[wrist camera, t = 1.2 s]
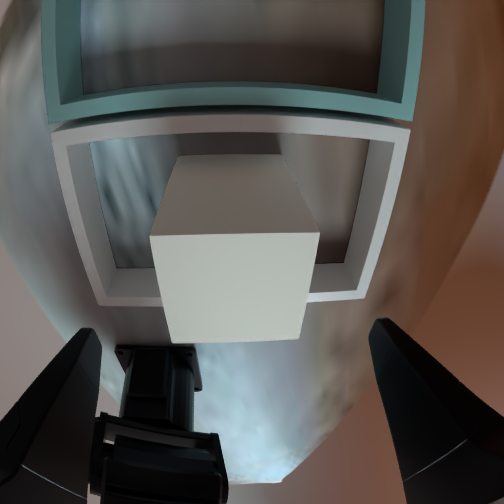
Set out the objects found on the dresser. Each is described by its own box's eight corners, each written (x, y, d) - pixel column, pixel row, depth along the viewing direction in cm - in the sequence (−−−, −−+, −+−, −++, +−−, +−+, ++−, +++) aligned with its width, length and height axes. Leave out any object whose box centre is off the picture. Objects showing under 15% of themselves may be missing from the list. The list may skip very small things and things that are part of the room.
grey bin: (351, 271, 20) (364, 298, 18) (109, 277, 18) (98, 305, 16) (385, 116, 14) (410, 129, 12) (73, 118, 12) (50, 132, 10)
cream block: (275, 239, 18) (298, 338, 12) (185, 241, 17) (172, 342, 12) (281, 154, 15) (319, 232, 9) (178, 155, 14) (149, 236, 9)
